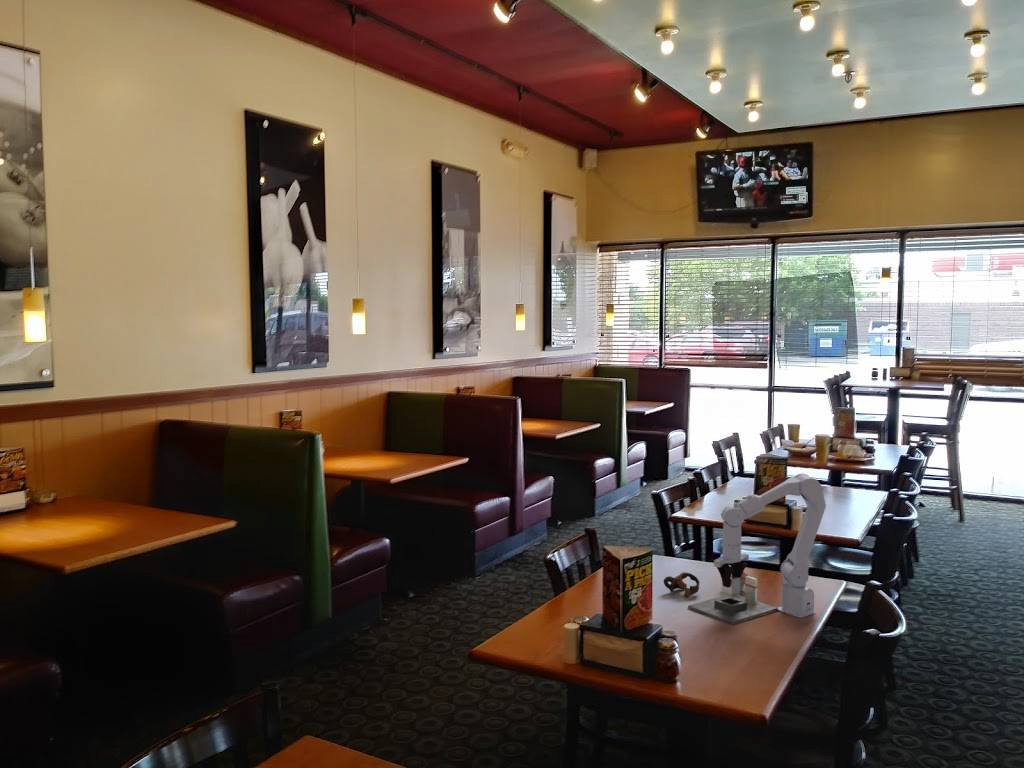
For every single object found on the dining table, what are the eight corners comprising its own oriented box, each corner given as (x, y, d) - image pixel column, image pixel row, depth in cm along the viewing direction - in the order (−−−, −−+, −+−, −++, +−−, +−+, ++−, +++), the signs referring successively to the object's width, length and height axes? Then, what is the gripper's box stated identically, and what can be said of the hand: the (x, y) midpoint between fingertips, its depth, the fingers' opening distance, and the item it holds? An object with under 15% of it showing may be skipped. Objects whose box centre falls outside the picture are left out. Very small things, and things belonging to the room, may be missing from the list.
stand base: (777, 611, 264) (778, 583, 263) (732, 624, 251) (732, 596, 251) (733, 596, 279) (733, 570, 278) (688, 608, 266) (688, 581, 266)
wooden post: (740, 596, 264) (740, 577, 263) (731, 598, 261) (732, 579, 261) (730, 593, 267) (730, 574, 267) (721, 595, 265) (721, 576, 264)
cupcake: (722, 592, 283) (722, 558, 282) (723, 585, 291) (723, 552, 290) (748, 595, 280) (748, 560, 279) (748, 587, 288) (749, 554, 287)
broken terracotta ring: (691, 589, 287) (699, 573, 283) (694, 609, 279) (703, 592, 275) (658, 581, 286) (666, 564, 282) (661, 601, 278) (669, 584, 274)
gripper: (736, 538, 270) (736, 578, 271) (706, 544, 262) (706, 586, 263) (754, 542, 265) (753, 583, 266) (724, 549, 256) (723, 591, 257)
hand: (731, 585), depth 264 cm, fingers closed on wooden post, 4 cm apart
